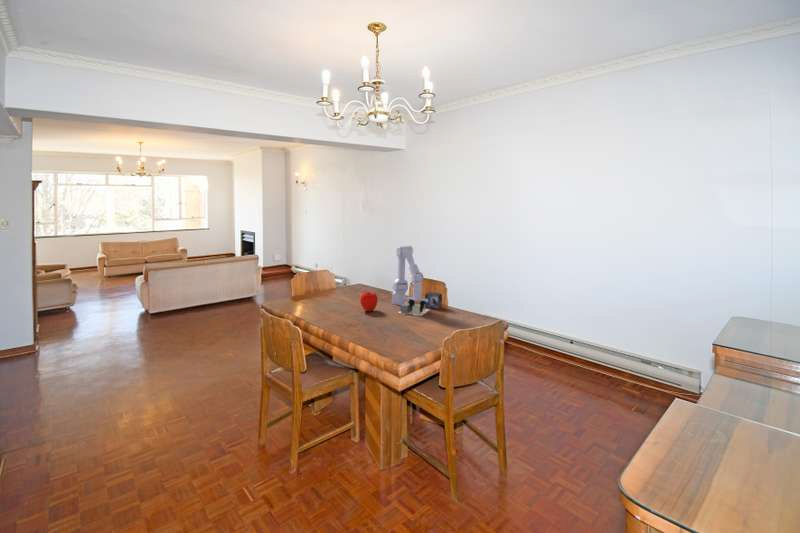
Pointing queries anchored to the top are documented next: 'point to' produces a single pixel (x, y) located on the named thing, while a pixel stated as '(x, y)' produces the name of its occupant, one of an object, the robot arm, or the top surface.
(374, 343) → the top surface
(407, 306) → the charcoal block
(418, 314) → the grey mat
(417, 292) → the robot arm
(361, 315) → the top surface
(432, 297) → the picture frame
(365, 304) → the apple
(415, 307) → the sage block
